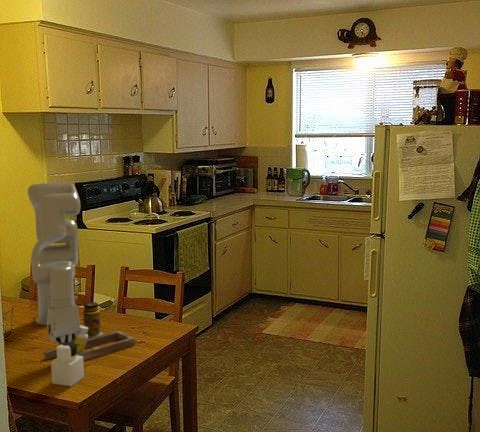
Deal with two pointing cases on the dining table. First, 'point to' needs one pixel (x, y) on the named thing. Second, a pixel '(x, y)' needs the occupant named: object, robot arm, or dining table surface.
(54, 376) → the white stacked blocks
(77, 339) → the supplement bottle
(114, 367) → the dining table surface
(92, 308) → the condiment
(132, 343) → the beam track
